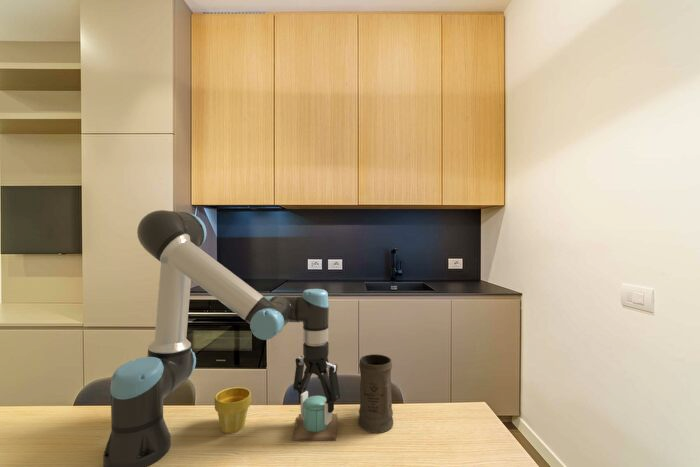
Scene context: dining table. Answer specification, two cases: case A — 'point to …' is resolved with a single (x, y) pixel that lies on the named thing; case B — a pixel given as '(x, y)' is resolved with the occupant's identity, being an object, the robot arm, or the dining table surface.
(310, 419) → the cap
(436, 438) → the dining table surface
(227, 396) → the plant pot
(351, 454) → the dining table surface
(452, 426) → the dining table surface
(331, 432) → the post block
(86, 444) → the dining table surface
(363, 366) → the beer stein
